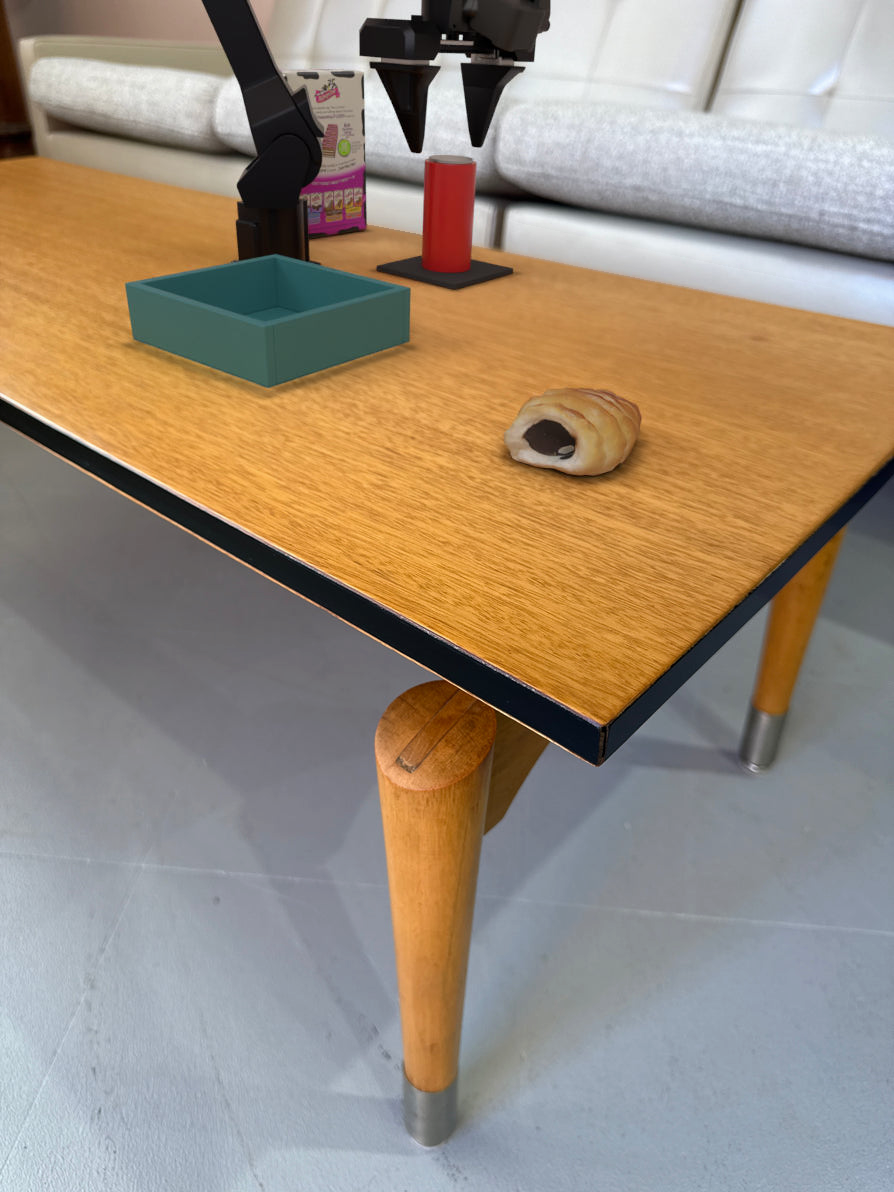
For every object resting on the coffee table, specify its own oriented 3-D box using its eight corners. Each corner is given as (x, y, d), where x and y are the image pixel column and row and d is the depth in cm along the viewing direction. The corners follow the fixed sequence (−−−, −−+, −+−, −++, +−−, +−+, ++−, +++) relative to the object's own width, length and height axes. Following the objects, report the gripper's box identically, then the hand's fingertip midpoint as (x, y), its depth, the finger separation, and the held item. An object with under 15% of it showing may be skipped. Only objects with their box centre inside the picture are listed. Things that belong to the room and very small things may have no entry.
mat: (437, 256, 94) (437, 251, 94) (513, 273, 90) (513, 268, 89) (376, 270, 88) (376, 265, 87) (454, 289, 83) (454, 284, 82)
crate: (278, 308, 75) (275, 253, 72) (409, 347, 67) (411, 287, 65) (133, 345, 65) (124, 282, 62) (268, 394, 57) (264, 326, 55)
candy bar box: (340, 223, 107) (337, 68, 98) (368, 230, 104) (367, 71, 95) (267, 233, 100) (256, 67, 91) (294, 241, 97) (286, 70, 88)
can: (419, 260, 90) (422, 153, 85) (466, 261, 91) (472, 155, 85) (424, 272, 86) (427, 160, 80) (474, 273, 87) (480, 162, 81)
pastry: (569, 412, 57) (577, 355, 55) (664, 440, 54) (677, 381, 52) (493, 457, 51) (499, 395, 49) (597, 492, 48) (608, 427, 46)
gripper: (463, -68, 63) (453, 167, 72) (594, -45, 76) (572, 153, 84) (353, -67, 69) (355, 152, 78) (492, -45, 82) (480, 141, 90)
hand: (447, 150), depth 82 cm, fingers open, 9 cm apart
